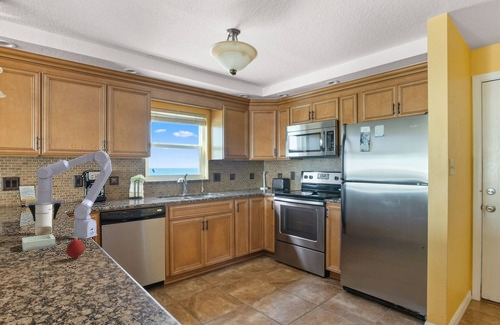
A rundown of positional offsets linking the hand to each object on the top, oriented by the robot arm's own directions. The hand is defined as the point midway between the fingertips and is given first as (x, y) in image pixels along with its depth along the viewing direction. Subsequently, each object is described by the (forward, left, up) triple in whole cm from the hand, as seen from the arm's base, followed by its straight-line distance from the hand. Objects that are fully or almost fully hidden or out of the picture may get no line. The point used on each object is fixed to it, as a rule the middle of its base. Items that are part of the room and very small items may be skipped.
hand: (44, 220), depth 133 cm
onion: (-38, +21, -10) cm, 44 cm away
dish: (-8, +10, -9) cm, 16 cm away
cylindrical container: (+13, -11, -10) cm, 20 cm away
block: (0, 0, -10) cm, 10 cm away
